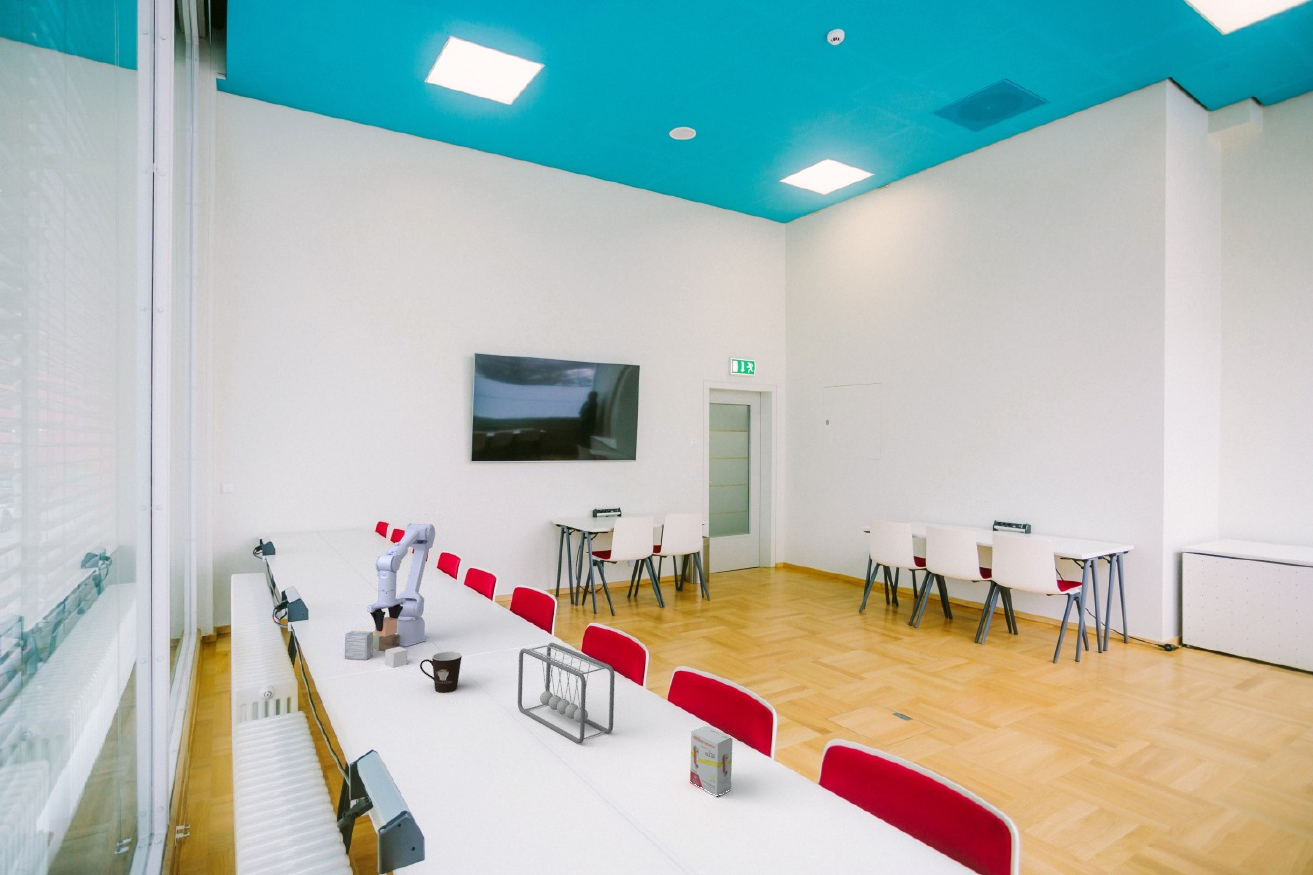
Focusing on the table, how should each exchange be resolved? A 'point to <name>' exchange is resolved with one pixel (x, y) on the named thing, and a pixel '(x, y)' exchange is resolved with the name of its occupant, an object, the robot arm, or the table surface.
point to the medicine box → (358, 645)
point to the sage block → (375, 641)
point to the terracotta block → (388, 627)
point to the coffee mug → (445, 671)
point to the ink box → (711, 760)
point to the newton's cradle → (556, 701)
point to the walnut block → (389, 642)
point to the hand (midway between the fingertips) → (386, 628)
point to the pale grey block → (396, 657)
